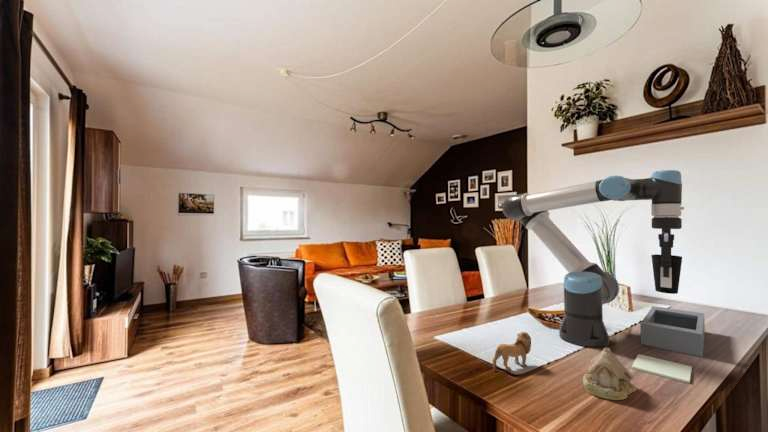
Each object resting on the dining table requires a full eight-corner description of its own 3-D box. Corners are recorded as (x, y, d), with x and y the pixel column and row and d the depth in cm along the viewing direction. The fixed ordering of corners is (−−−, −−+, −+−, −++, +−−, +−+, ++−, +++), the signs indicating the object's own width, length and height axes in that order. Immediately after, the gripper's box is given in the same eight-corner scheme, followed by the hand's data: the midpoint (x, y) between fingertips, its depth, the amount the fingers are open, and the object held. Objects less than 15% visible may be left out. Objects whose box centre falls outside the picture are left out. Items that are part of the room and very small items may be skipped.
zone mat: (631, 368, 91) (631, 366, 91) (638, 356, 99) (638, 354, 99) (689, 383, 82) (689, 381, 82) (691, 368, 90) (691, 366, 90)
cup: (645, 289, 109) (645, 254, 109) (664, 288, 110) (664, 254, 110) (668, 294, 101) (668, 257, 101) (688, 294, 102) (688, 257, 102)
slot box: (640, 343, 109) (640, 323, 109) (653, 323, 131) (652, 306, 131) (702, 357, 98) (702, 334, 98) (704, 331, 120) (704, 313, 120)
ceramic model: (587, 371, 90) (586, 335, 90) (637, 384, 82) (636, 345, 82) (577, 391, 79) (576, 351, 79) (634, 408, 72) (633, 364, 72)
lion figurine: (521, 357, 99) (520, 328, 99) (536, 364, 94) (536, 333, 94) (486, 367, 92) (486, 336, 92) (501, 375, 87) (500, 342, 87)
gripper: (682, 216, 96) (682, 292, 96) (680, 217, 111) (680, 282, 111) (650, 216, 101) (650, 288, 101) (652, 217, 116) (652, 279, 116)
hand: (666, 285), depth 106 cm, fingers closed on cup, 8 cm apart
